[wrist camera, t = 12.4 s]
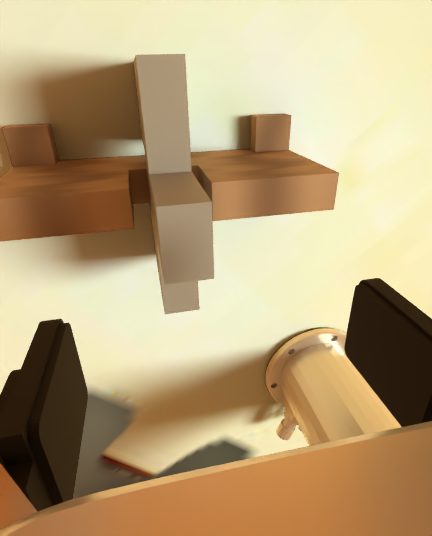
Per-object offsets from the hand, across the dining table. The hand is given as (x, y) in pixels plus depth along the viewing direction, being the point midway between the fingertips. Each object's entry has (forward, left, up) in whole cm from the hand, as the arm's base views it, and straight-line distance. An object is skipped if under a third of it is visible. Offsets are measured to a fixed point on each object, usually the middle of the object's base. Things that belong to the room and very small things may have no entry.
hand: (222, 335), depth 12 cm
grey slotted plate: (0, 0, -22) cm, 22 cm away
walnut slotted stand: (0, 0, -22) cm, 22 cm away
